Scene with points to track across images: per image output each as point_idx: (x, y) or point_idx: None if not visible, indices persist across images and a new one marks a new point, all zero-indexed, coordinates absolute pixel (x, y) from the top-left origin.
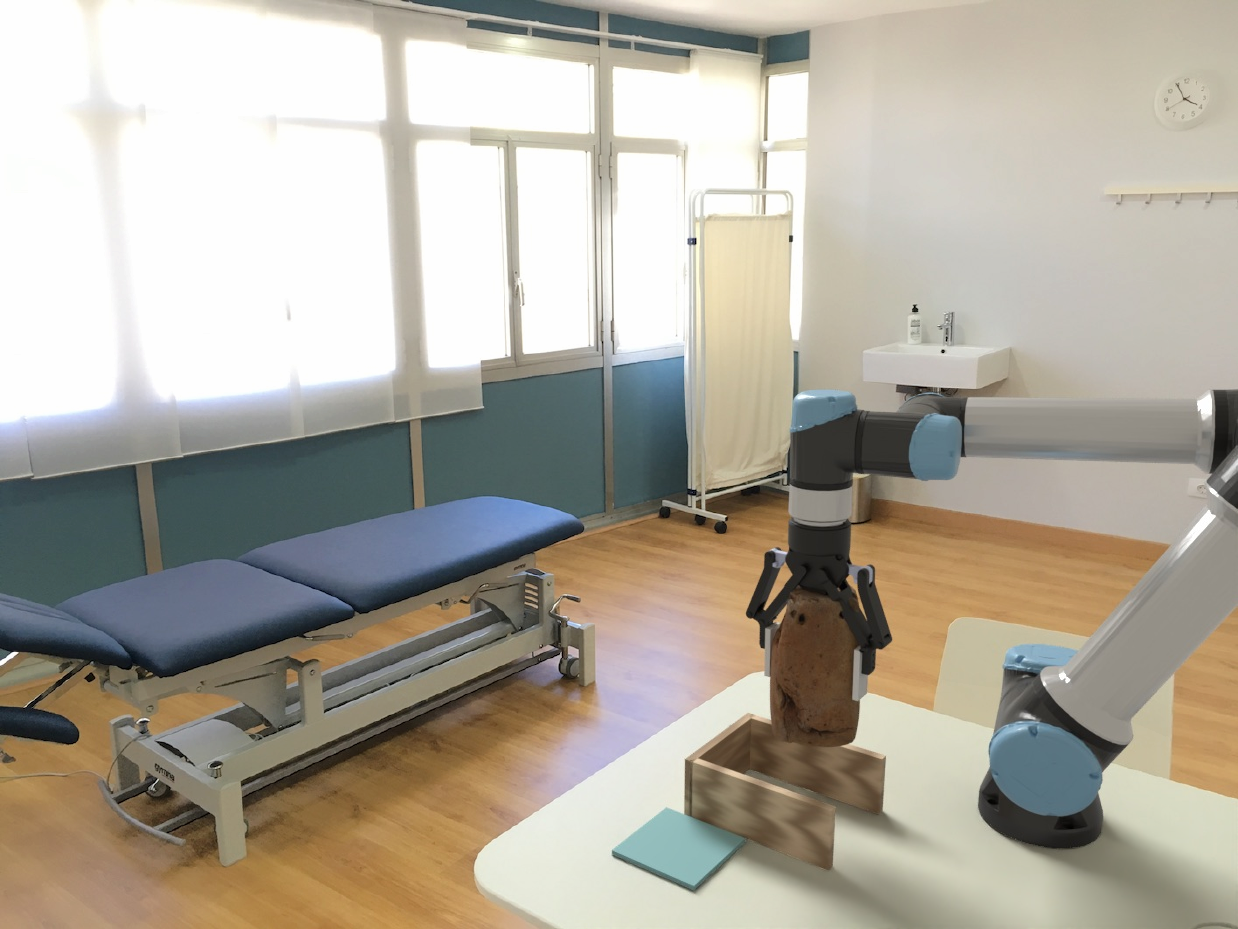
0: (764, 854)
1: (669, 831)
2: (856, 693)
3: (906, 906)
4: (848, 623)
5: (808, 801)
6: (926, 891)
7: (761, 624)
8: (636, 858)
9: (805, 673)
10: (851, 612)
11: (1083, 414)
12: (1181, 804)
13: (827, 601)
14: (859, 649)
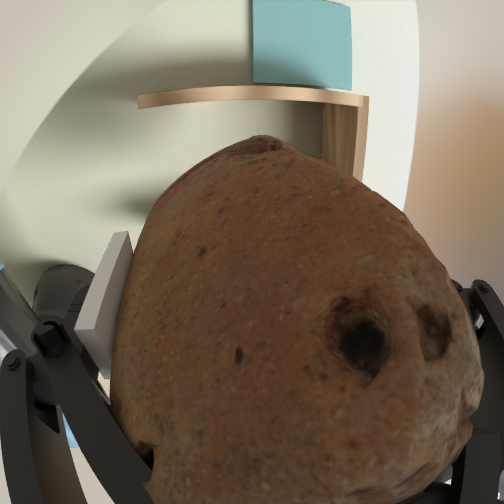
0: (224, 77)
1: (326, 52)
2: (113, 241)
3: (71, 108)
4: (110, 425)
5: (175, 93)
6: (68, 142)
7: None
8: (325, 3)
9: (238, 187)
10: (99, 480)
11: None
12: None
13: None
14: (86, 339)
